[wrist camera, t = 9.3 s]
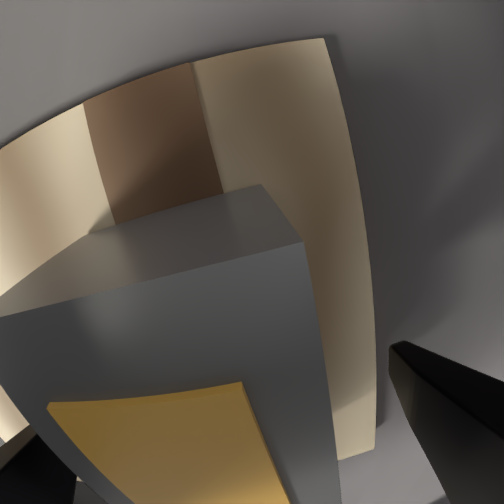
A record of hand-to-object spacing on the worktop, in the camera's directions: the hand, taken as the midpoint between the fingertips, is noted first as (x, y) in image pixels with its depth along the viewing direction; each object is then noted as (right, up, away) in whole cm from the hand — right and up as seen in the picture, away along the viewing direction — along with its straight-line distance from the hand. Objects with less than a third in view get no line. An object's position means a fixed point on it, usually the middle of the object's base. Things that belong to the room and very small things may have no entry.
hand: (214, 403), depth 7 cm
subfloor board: (-5, 0, +3) cm, 6 cm away
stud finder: (0, +1, +2) cm, 2 cm away
